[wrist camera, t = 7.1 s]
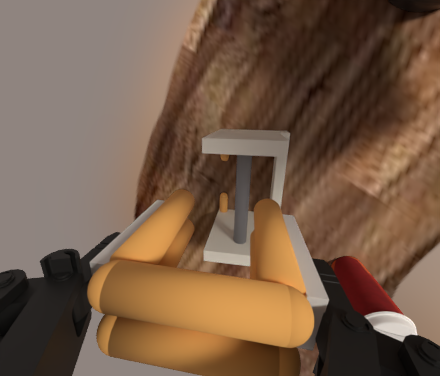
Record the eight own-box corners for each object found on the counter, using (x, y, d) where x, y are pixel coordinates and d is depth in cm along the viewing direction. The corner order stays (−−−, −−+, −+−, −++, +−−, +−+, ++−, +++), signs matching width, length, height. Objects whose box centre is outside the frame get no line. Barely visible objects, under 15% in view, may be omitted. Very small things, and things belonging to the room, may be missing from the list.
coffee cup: (316, 272, 45) (344, 345, 31) (340, 244, 41) (383, 311, 28) (351, 289, 45) (395, 369, 31) (378, 262, 42) (439, 338, 28)
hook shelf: (220, 128, 37) (202, 138, 24) (286, 130, 36) (304, 141, 23) (219, 216, 44) (203, 260, 31) (275, 221, 42) (284, 270, 29)
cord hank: (171, 236, 16) (89, 363, 8) (170, 188, 15) (69, 281, 6) (273, 249, 15) (300, 408, 7) (282, 200, 14) (328, 325, 6)
